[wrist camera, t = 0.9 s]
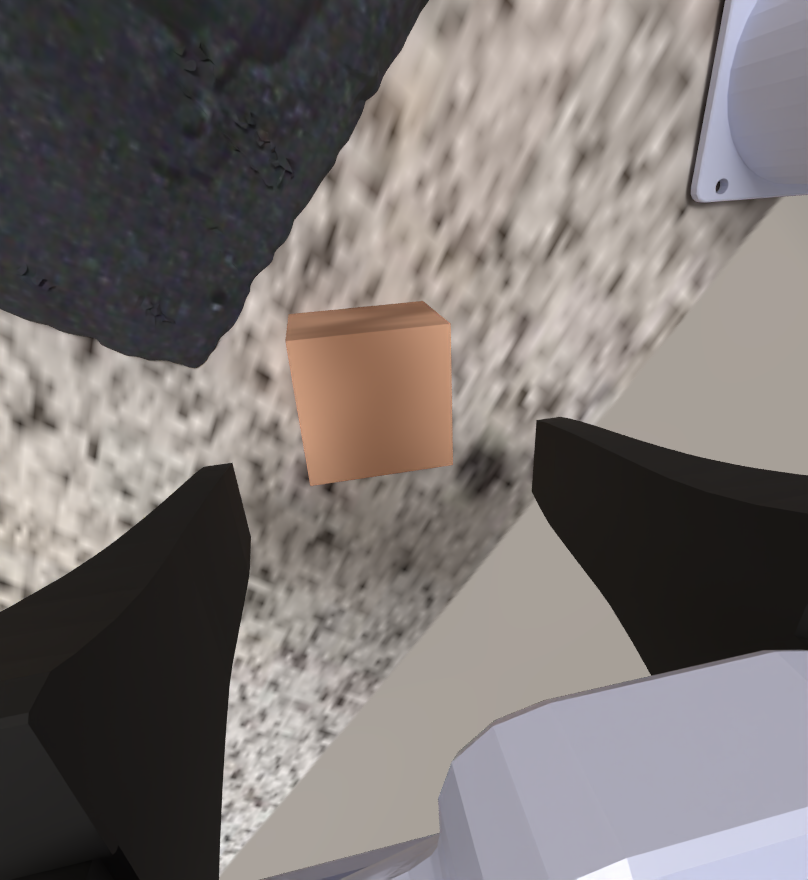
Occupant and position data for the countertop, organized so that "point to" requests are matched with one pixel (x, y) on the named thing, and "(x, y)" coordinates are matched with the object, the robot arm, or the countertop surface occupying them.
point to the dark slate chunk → (170, 153)
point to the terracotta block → (372, 390)
